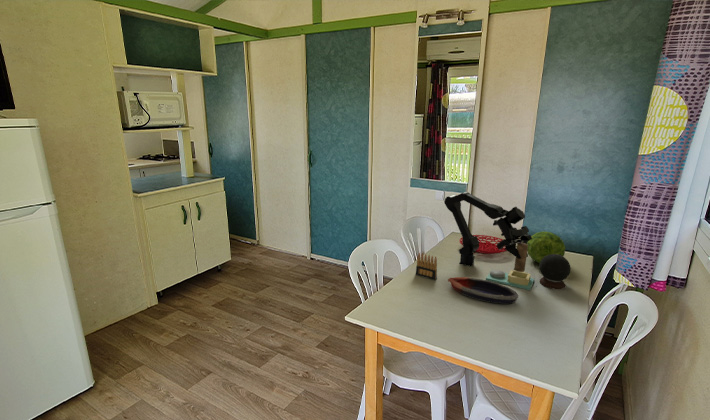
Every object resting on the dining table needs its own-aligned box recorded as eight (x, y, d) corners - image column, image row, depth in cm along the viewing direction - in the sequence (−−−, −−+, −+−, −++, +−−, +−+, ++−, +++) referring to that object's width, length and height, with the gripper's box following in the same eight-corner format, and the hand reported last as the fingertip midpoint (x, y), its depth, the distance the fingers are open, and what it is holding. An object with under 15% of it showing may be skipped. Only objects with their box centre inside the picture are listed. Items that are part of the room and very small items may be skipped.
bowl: (504, 264, 203) (505, 255, 202) (452, 253, 219) (452, 245, 217) (515, 248, 227) (516, 240, 226) (467, 239, 243) (467, 232, 241)
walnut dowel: (513, 270, 178) (516, 244, 175) (515, 267, 182) (518, 242, 179) (523, 272, 176) (527, 246, 173) (525, 269, 180) (528, 244, 176)
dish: (512, 312, 154) (514, 301, 153) (442, 291, 171) (443, 281, 170) (521, 297, 166) (522, 287, 165) (454, 280, 184) (455, 270, 182)
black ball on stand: (536, 286, 177) (540, 257, 173) (537, 276, 188) (541, 248, 184) (568, 292, 171) (573, 262, 167) (567, 281, 182) (572, 252, 179)
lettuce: (566, 260, 210) (564, 228, 210) (566, 268, 189) (564, 232, 189) (529, 260, 219) (527, 229, 219) (526, 267, 199) (523, 233, 198)
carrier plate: (485, 279, 184) (486, 272, 183) (491, 271, 193) (492, 264, 192) (529, 290, 173) (531, 282, 172) (533, 280, 183) (534, 273, 182)
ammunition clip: (436, 278, 184) (438, 256, 181) (435, 280, 183) (436, 257, 180) (417, 273, 190) (418, 251, 187) (415, 274, 189) (416, 252, 186)
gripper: (504, 223, 172) (522, 253, 165) (531, 218, 181) (549, 247, 174) (489, 234, 181) (505, 264, 174) (515, 229, 189) (531, 257, 183)
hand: (523, 257), depth 176 cm, fingers closed on walnut dowel, 5 cm apart
